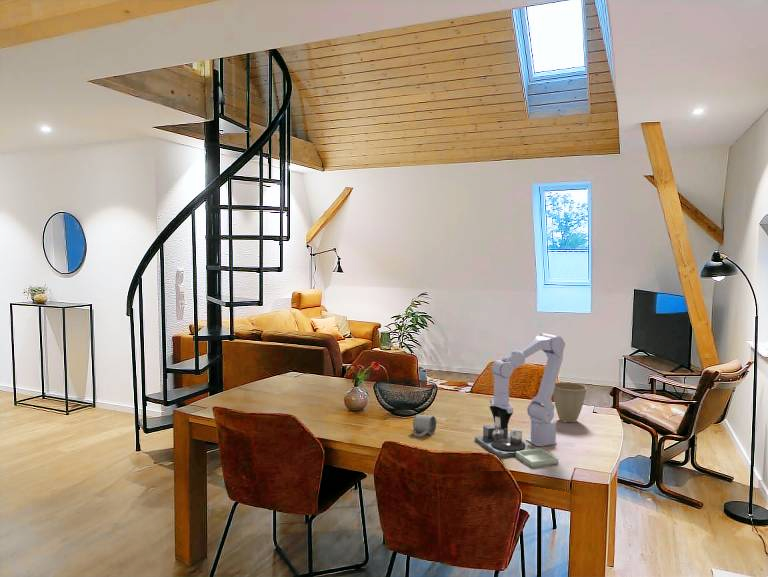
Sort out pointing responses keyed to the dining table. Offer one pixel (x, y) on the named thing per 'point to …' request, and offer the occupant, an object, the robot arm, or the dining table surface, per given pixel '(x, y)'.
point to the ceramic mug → (424, 425)
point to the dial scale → (500, 442)
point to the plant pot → (569, 400)
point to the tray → (536, 457)
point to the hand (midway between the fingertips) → (500, 426)
